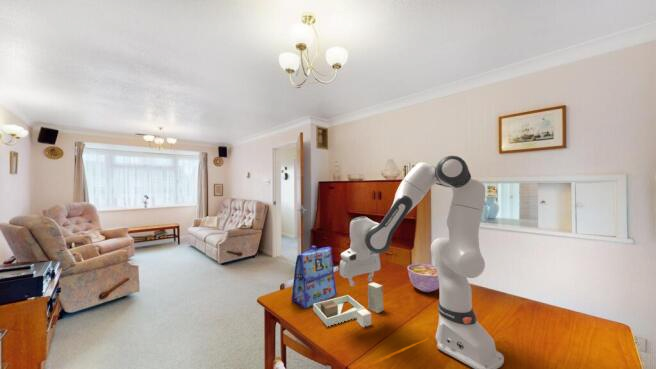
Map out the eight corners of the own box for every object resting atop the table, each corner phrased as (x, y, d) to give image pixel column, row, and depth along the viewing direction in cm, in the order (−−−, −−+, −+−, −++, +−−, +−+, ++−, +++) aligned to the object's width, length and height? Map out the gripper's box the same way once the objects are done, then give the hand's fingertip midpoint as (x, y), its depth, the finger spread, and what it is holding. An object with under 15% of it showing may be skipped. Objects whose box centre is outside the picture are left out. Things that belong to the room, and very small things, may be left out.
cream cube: (371, 324, 106) (371, 313, 106) (362, 327, 104) (362, 316, 104) (365, 319, 110) (365, 308, 110) (356, 322, 108) (356, 311, 108)
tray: (364, 315, 114) (364, 307, 114) (326, 327, 105) (326, 318, 105) (348, 301, 127) (348, 294, 127) (313, 311, 118) (313, 303, 118)
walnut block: (337, 316, 112) (337, 305, 112) (326, 319, 109) (326, 308, 109) (331, 310, 117) (331, 299, 117) (320, 313, 115) (320, 302, 115)
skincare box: (383, 310, 118) (383, 285, 118) (377, 313, 115) (377, 288, 115) (373, 305, 123) (373, 281, 123) (367, 308, 120) (367, 283, 120)
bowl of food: (401, 288, 142) (400, 269, 142) (417, 279, 155) (417, 261, 155) (435, 300, 127) (434, 278, 127) (450, 289, 141) (450, 269, 141)
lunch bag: (305, 310, 119) (305, 251, 119) (290, 300, 129) (290, 246, 129) (337, 296, 133) (337, 244, 133) (322, 288, 144) (321, 240, 144)
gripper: (374, 247, 116) (375, 276, 116) (337, 254, 107) (338, 285, 107) (382, 250, 111) (384, 280, 111) (344, 258, 102) (345, 290, 102)
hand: (361, 283), depth 109 cm, fingers open, 8 cm apart
